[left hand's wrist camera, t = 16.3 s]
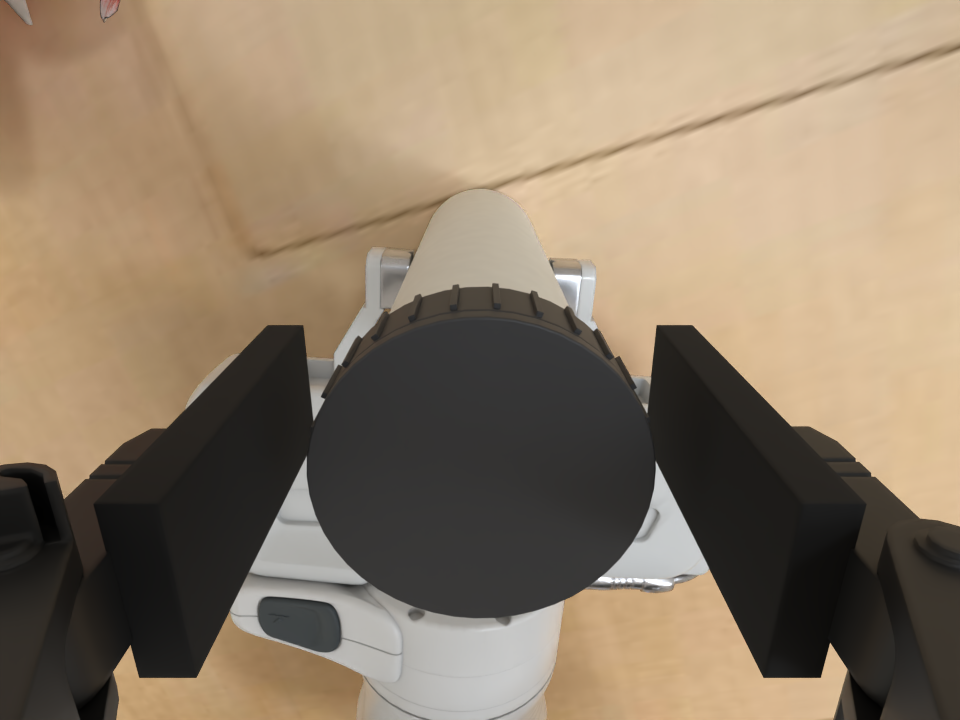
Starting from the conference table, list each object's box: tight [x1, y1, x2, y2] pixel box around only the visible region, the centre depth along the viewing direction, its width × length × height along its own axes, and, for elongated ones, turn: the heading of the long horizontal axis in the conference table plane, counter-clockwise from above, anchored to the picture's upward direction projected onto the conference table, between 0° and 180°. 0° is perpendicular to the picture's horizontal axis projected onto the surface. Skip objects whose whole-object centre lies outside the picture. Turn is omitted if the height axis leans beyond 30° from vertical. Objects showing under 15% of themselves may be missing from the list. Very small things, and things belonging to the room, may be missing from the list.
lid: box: [307, 283, 656, 618], centre depth 11 cm, size 6×6×2 cm
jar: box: [389, 189, 569, 314], centre depth 19 cm, size 5×5×18 cm
